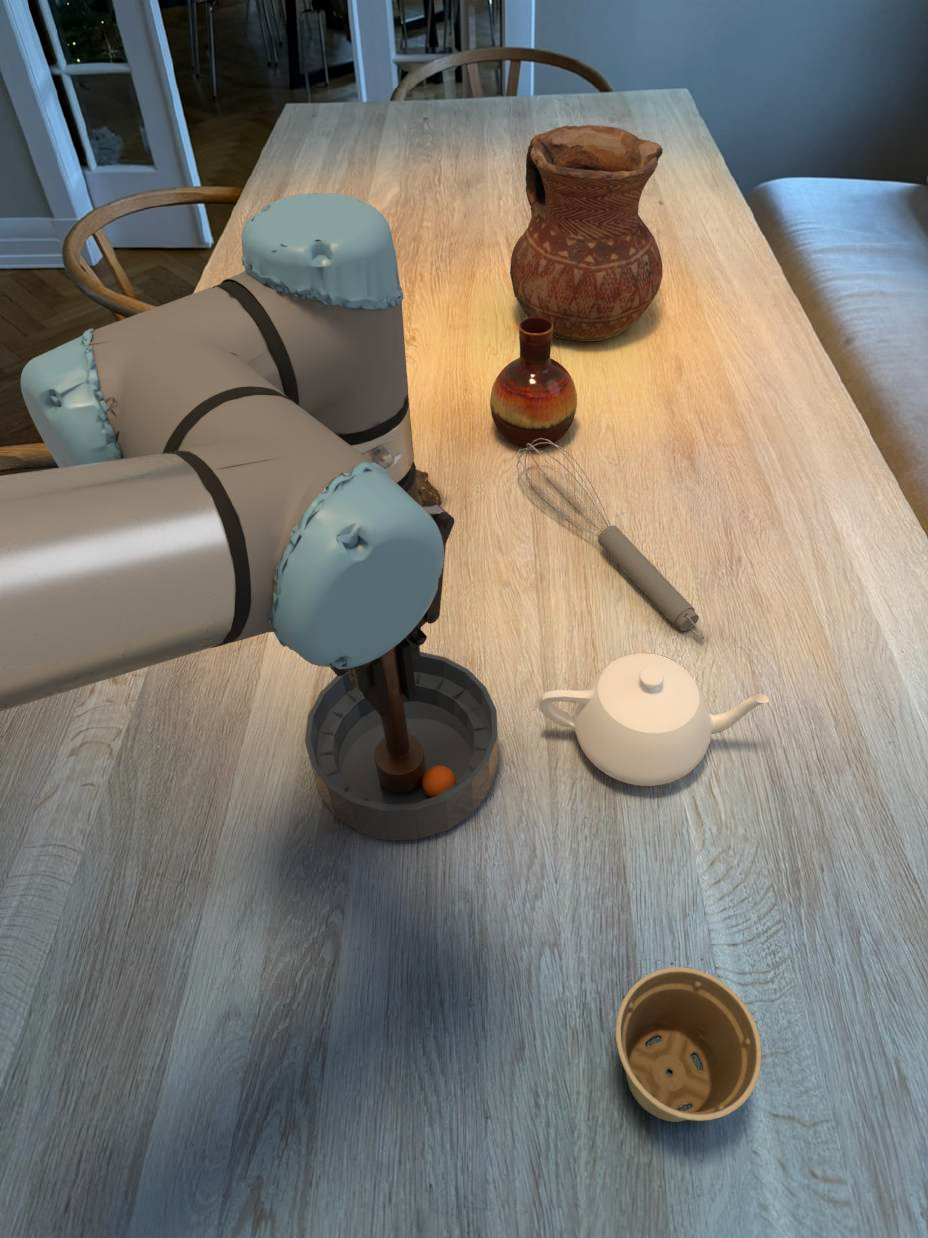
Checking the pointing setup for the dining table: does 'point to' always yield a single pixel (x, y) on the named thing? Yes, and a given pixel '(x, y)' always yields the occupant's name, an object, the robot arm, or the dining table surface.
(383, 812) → the bowl
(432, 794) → the bead
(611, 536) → the kitchen whisk
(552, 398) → the vase
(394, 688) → the wooden pestle
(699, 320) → the dining table surface
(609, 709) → the teapot
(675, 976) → the flower pot
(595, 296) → the jug
